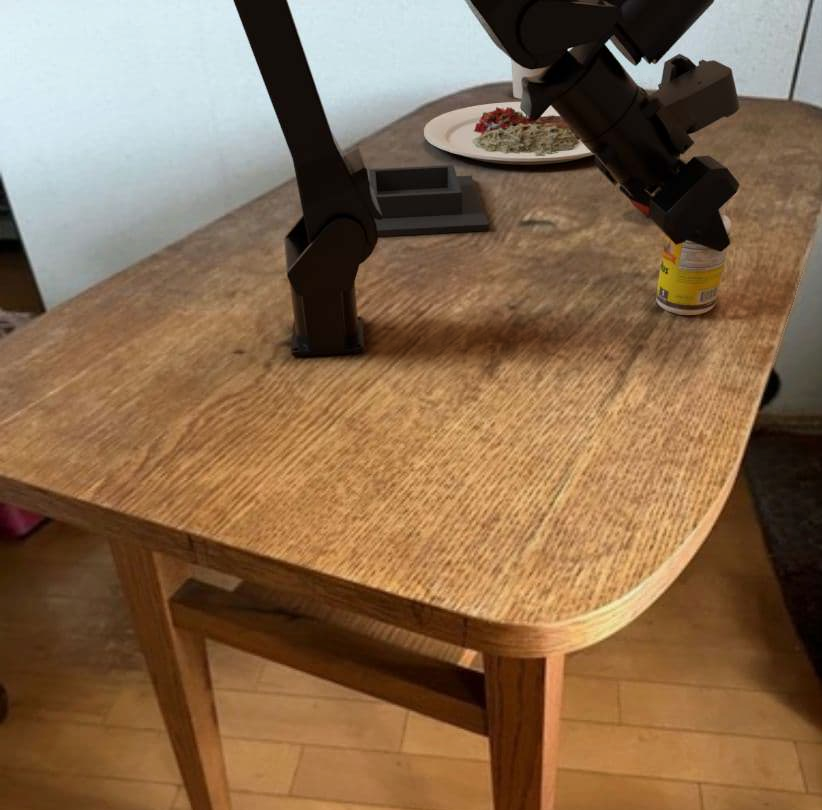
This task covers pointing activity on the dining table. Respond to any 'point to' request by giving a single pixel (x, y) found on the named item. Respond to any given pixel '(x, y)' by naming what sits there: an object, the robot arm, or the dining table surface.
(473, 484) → the dining table surface
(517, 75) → the dixie cup
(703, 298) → the supplement bottle
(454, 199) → the dock pad
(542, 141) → the plated food
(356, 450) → the dining table surface
